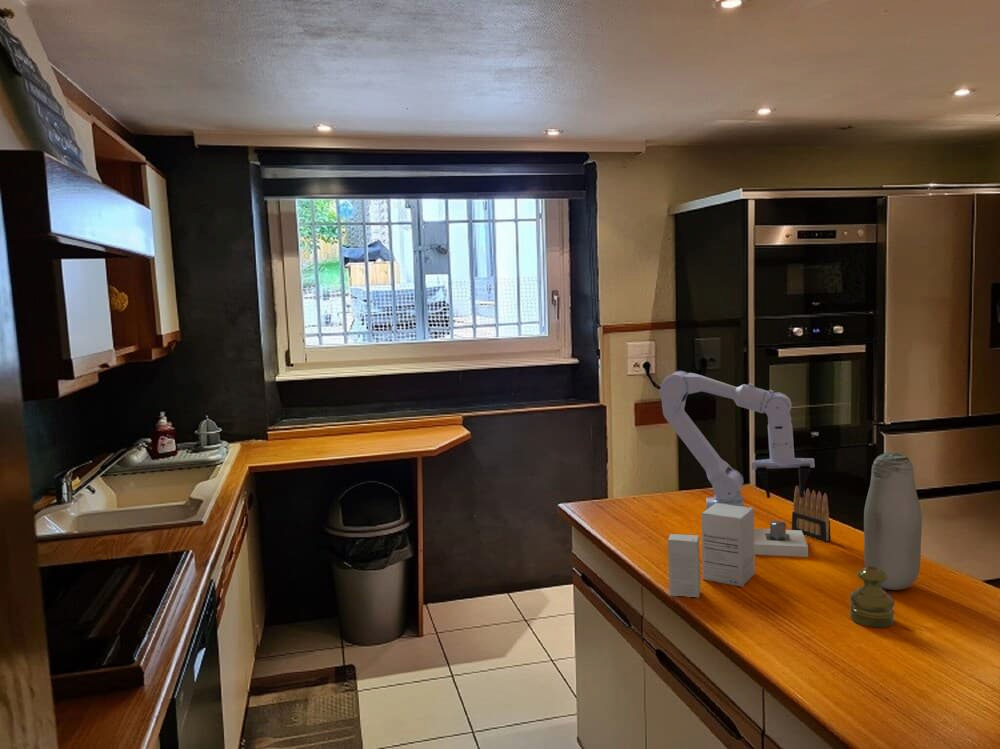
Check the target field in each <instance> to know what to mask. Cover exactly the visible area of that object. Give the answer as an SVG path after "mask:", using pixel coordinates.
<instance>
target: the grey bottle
mask: <svg viewBox="0 0 1000 749" xmlns="http://www.w3.org/2000/svg"><path fill="white" fill-rule="evenodd" d="M922 518H923V516H922V508H921V503H920V499H919V497H918V493H917V488H916V482H915V472H914V466H913V463H912V461H911V460H910V458H908V457H907V456H906V455H904V454H901V453H898V452H885V453H882V454H880V455H878V456H877V457H875V459H874V461H873V463H872V466H871V477H870V483H869V487H868V492H867V495H866V499H865V505H864V509H863V536H864V537H863V538H864V539H863V540H864V541H863V542H864V544H863V545H864V547H863V549H864V550H863V553H864V554H863V556H864V557H863V558H864V559H863V560H864V566H865V567H864V568H867V567H876V568H877V569H879V570H881V571H883V572H885V573H886V574H887V579H886V580H885V581H883V582H882V583H881V584H880V586H881V588H882V589H883V590H889V591H890V590H891V591H899V590H905V589H907V588H909V587H911V586H912V585H914V583H915V582H916V580H917V579H918V576H919V573H920V569H921V554H922V552H921V550H922V549H921V548H922V545H921V544H922V528H923V527H922V524H923V523H922V522H923V521H922V520H923V519H922Z"/></svg>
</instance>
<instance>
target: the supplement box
mask: <svg viewBox="0 0 1000 749" xmlns="http://www.w3.org/2000/svg"><path fill="white" fill-rule="evenodd" d="M754 514H755V508H754V507H753V506H752V507H750V506H749V507H748V506H743V507H742V506H734V505H728V504H721V503H715V504H714V505H712V506H711V507H710V508H708V509H707V510H704V511H703V512H702V513H701V514H700V515H701V549H702V550H701V553H702V555H701V556H702V557H701V559H702V561H701V562H702V566H701V567H702V580H703V579H705V580H704V581H709V580H710V581H709V582H714V581H715V583H720V584H727V585H730V586H737V587H741V588H743V587H744V585H745V584H746V583H748V581H749V580H750V579H751V578H752V577H753V576H754V575H755V574H756V570H755V569H756V568H755V567H756V566H755V565H756V564H755V559H756V558H755V551H754V529H755V515H754Z"/></svg>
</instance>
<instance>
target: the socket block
mask: <svg viewBox="0 0 1000 749" xmlns="http://www.w3.org/2000/svg"><path fill="white" fill-rule="evenodd" d="M754 551H755V555H757V556H758V555H759V556H775V557H776V556H779V557H798V558H799V557H800V558H808V557H809V545H808V542H807V541H806V538H805V535H803V533H802V530H792V529H786V541H771V540H770V528H754Z"/></svg>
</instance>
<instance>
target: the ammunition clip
mask: <svg viewBox="0 0 1000 749" xmlns="http://www.w3.org/2000/svg"><path fill="white" fill-rule="evenodd" d="M793 494H794V495H793V496H794V497H793V506H792V507H793V511H792V512H791V530H802V533H803V534H804V536H805V535H807V536H806V537H808V536H810V537H809V538H811V537H813V538H812V539H814V538H816V539H815V540H817V539H818V540H817V541H820V540H821V541H820V542H823V541H824V542H823V543H828V542H830V541H832V539H831V521H830V519H829V518H830V516H829V514H830V512H829V510H830V509H829V501H828V495H827V493H826V492H824V494H823V496H822V493H821V491H820V490H819V491H818V492H817V494H816V491H815V489H813V490H812V492H810V488H807V489H806V491H804V494H803V497H800V493H799V486H798V485H796V486H795V489H794V493H793ZM827 541H828V542H827Z"/></svg>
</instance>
